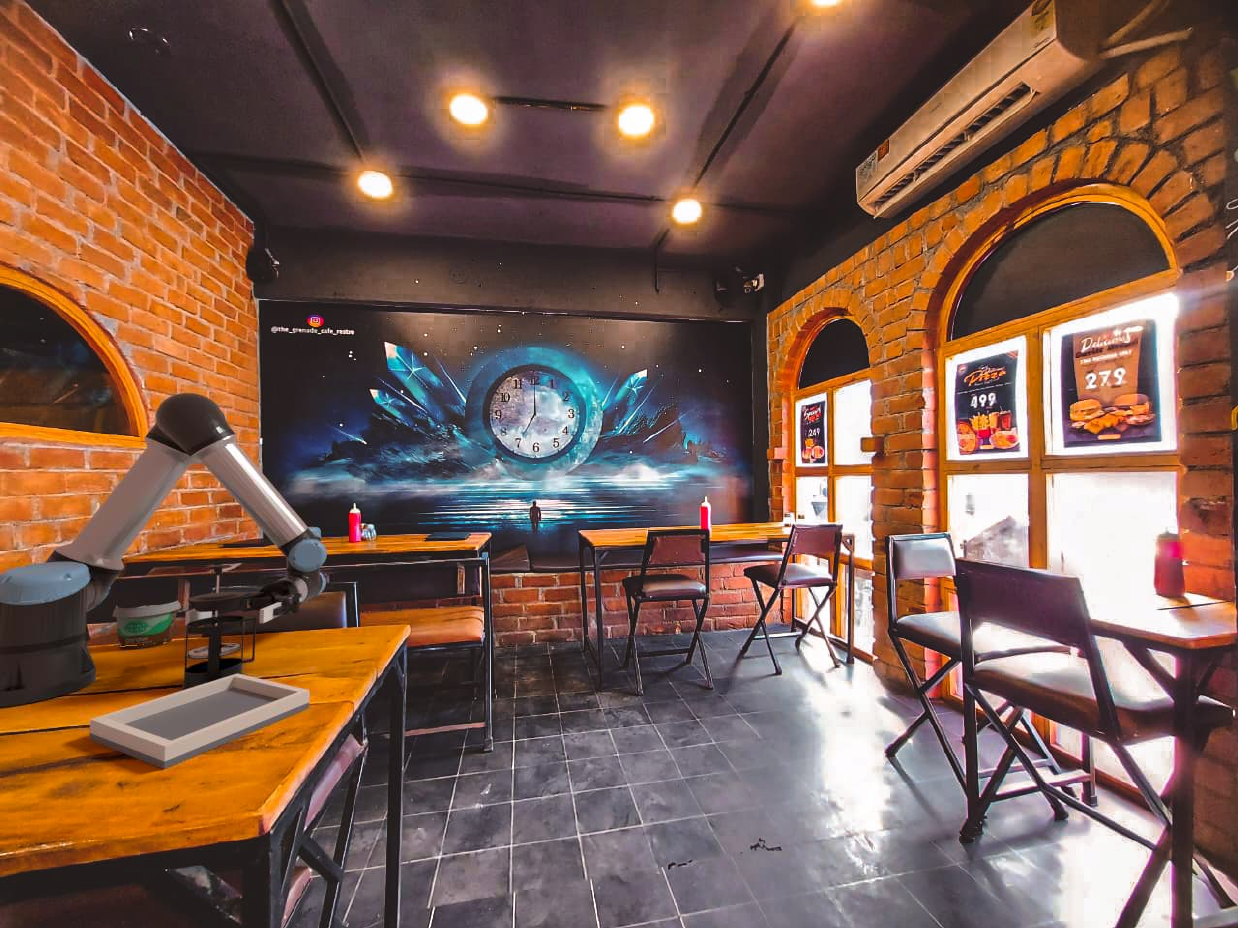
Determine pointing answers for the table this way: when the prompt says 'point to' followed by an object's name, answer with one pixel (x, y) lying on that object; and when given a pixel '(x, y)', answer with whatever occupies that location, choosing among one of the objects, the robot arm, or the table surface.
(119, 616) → the food container
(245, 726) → the serving tray
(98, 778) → the table surface
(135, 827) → the table surface
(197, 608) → the french press
